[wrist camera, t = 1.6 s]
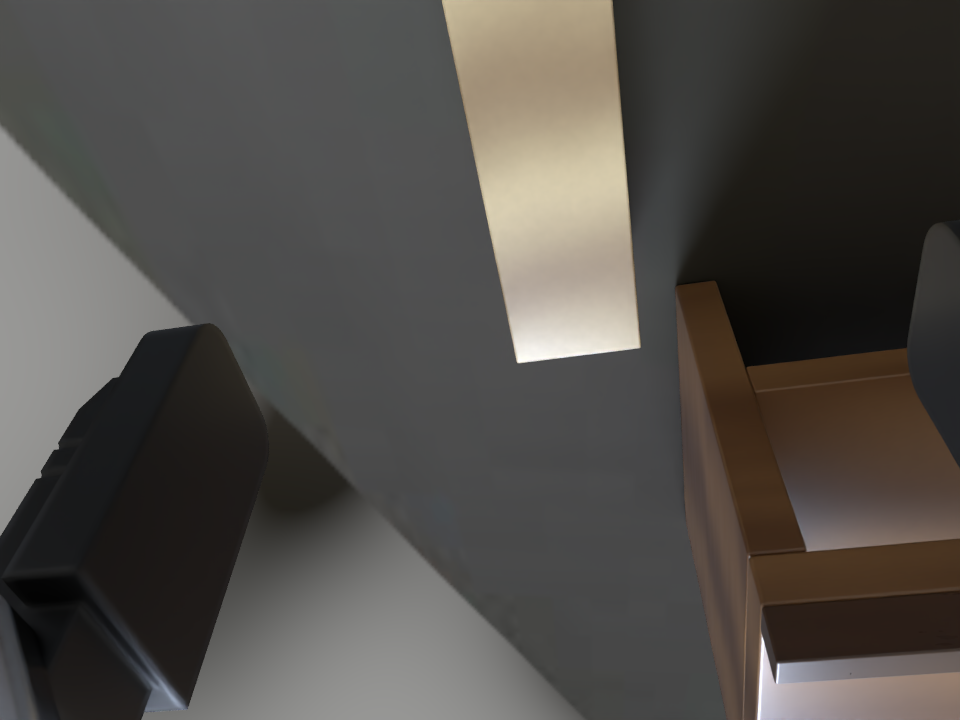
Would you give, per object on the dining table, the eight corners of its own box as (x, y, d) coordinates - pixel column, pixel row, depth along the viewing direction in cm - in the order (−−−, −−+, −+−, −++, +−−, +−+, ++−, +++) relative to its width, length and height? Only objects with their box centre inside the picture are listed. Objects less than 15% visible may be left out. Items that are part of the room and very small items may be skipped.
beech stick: (387, -394, 15) (354, -415, 12) (560, -440, 15) (573, -474, 11) (516, 278, 24) (517, 363, 21) (624, 263, 24) (641, 348, 21)
